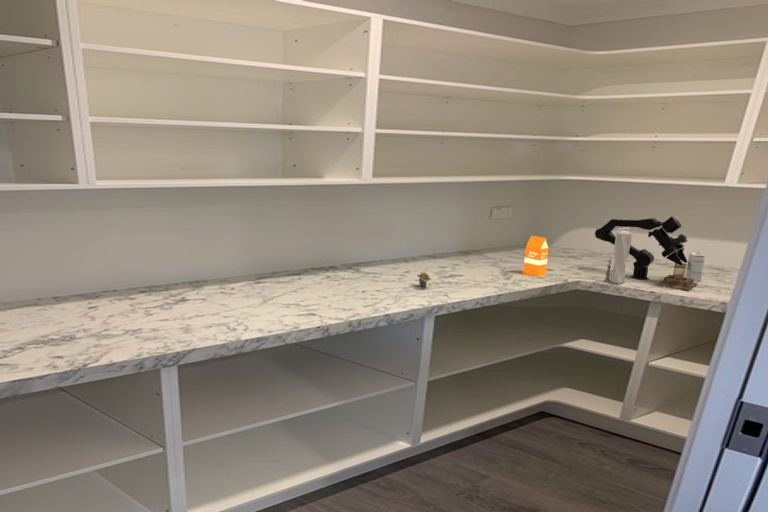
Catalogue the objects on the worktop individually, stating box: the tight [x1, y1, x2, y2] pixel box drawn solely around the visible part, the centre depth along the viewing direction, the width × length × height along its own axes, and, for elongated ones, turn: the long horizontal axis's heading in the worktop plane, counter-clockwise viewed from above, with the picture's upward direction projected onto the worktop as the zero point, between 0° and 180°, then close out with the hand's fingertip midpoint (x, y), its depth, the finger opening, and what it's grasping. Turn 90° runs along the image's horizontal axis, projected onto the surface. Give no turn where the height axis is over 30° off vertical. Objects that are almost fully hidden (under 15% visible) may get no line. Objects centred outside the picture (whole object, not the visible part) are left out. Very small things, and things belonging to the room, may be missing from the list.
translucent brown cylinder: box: [672, 262, 687, 281], centre depth 251 cm, size 5×5×10 cm
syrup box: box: [684, 252, 706, 282], centre depth 263 cm, size 6×6×14 cm
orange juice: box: [523, 235, 549, 277], centre depth 262 cm, size 8×9×20 cm
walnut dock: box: [656, 274, 699, 292], centre depth 252 cm, size 14×18×4 cm
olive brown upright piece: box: [416, 271, 432, 289], centre depth 230 cm, size 12×18×7 cm, turn 18°
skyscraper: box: [604, 227, 633, 285], centre depth 250 cm, size 8×8×28 cm
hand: (684, 263), depth 249 cm, fingers open, 9 cm apart
